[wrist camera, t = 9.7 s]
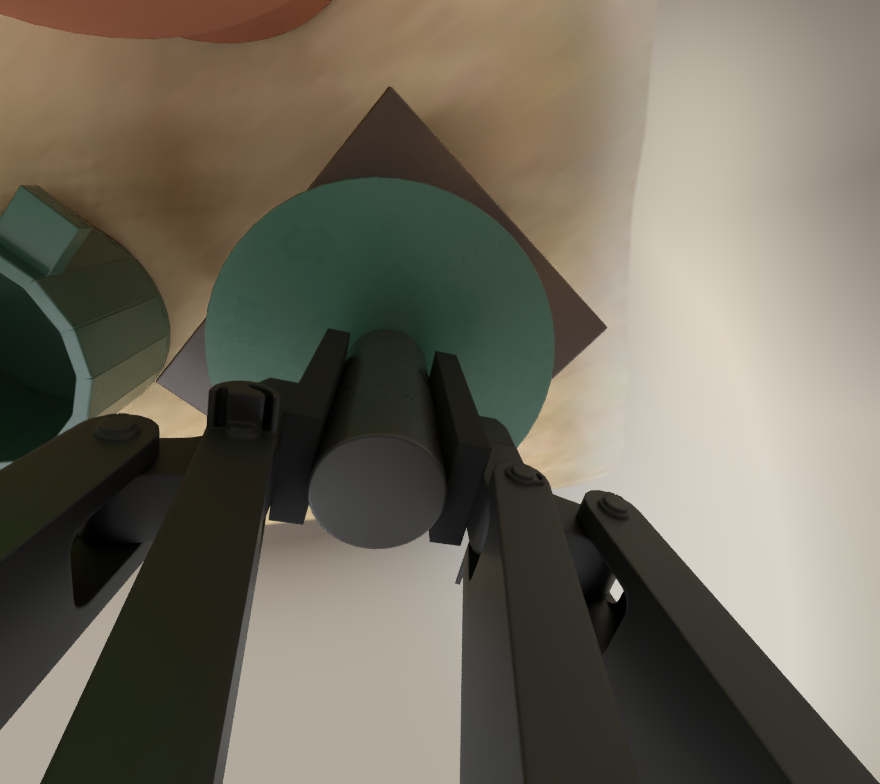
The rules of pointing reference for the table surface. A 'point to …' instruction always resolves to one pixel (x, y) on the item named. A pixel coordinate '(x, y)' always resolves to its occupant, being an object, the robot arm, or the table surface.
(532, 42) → the table surface
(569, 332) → the wooden side table
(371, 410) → the lid
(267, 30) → the potted cactus
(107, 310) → the pot
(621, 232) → the table surface
